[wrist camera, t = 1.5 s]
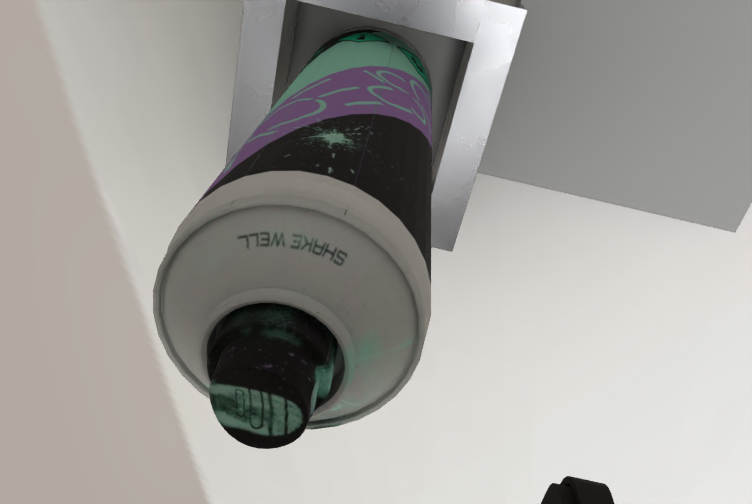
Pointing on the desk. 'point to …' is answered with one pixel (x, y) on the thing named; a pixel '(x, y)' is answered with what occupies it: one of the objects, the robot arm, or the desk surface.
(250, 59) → the grey square frame
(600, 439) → the desk surface
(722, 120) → the mat
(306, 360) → the spray can
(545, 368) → the desk surface
